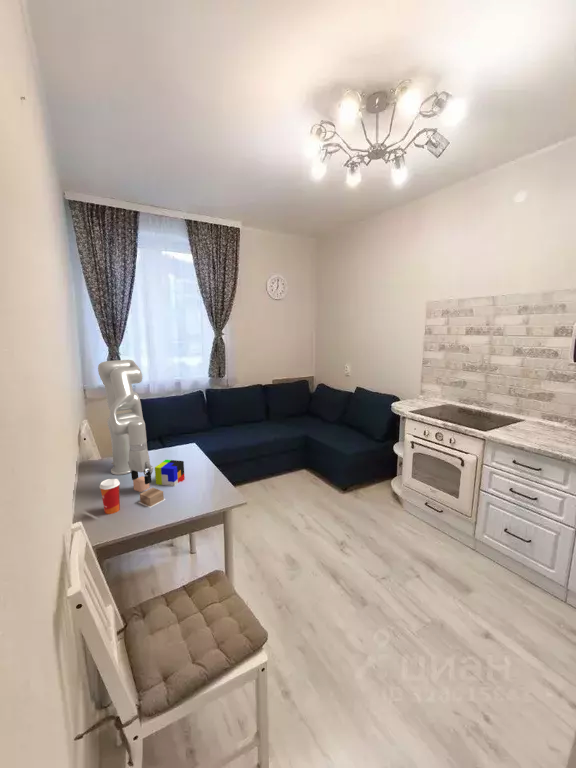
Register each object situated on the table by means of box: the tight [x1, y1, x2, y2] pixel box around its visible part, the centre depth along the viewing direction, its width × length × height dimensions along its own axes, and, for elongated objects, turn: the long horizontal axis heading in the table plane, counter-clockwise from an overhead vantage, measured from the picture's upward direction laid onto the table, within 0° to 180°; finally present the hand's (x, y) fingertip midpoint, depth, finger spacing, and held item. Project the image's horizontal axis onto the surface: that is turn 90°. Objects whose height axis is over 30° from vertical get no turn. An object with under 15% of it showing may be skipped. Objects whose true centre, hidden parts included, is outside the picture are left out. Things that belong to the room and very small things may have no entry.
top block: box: [132, 475, 151, 493], centre depth 167 cm, size 5×5×6 cm
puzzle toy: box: [154, 459, 186, 487], centre depth 175 cm, size 10×10×10 cm
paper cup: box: [99, 478, 121, 515], centre depth 147 cm, size 8×8×14 cm
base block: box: [139, 487, 165, 507], centre depth 156 cm, size 7×7×4 cm
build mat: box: [137, 498, 167, 509], centre depth 158 cm, size 16×12×1 cm
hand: (141, 481), depth 166 cm, fingers open, 9 cm apart
